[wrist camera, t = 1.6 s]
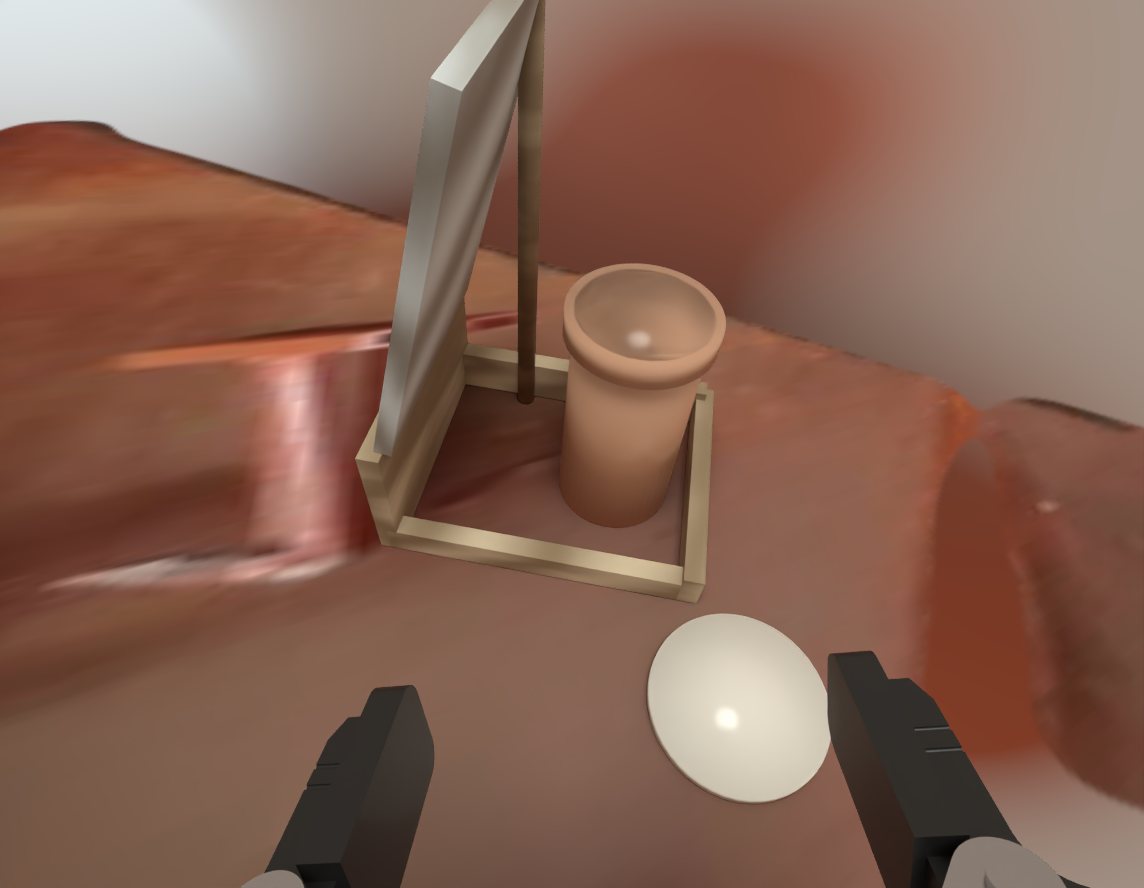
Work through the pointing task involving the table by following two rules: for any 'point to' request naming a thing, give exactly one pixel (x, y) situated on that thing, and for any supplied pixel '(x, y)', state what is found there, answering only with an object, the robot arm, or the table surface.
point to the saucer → (738, 708)
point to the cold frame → (438, 322)
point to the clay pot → (631, 385)
